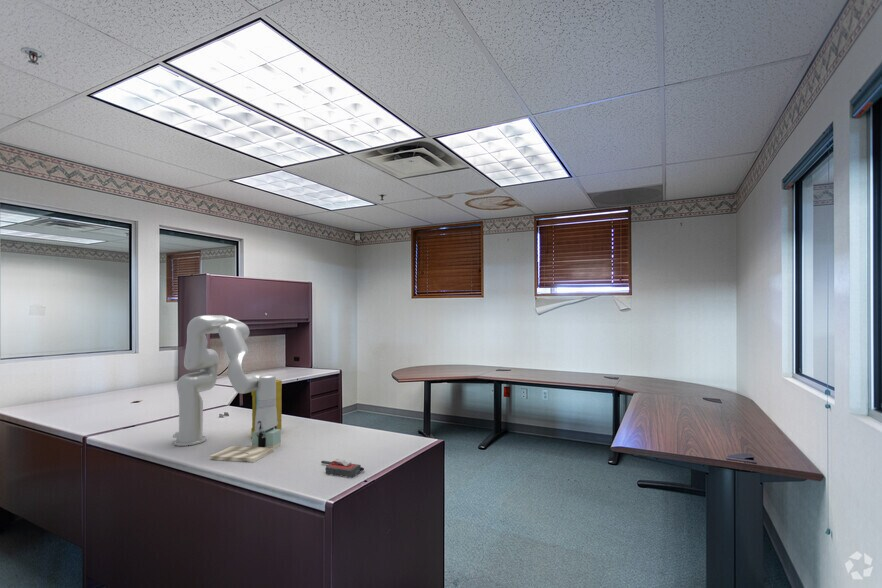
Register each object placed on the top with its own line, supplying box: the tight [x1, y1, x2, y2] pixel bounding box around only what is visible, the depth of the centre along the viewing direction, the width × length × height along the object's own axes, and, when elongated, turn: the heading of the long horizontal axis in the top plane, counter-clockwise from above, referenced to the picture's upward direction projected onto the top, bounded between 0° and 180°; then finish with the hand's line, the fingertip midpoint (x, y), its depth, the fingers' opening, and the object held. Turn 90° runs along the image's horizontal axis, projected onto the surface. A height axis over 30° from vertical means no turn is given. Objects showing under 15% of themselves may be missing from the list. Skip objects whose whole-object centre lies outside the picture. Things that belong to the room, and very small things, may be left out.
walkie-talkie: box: [321, 458, 365, 478], centre depth 153 cm, size 9×4×20 cm
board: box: [209, 445, 274, 463], centre depth 172 cm, size 20×13×2 cm, turn 78°
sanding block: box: [251, 428, 282, 450], centre depth 183 cm, size 10×6×7 cm, turn 79°
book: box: [250, 379, 283, 438], centre depth 205 cm, size 17×7×25 cm, turn 168°
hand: (266, 444), depth 183 cm, fingers closed on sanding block, 6 cm apart
